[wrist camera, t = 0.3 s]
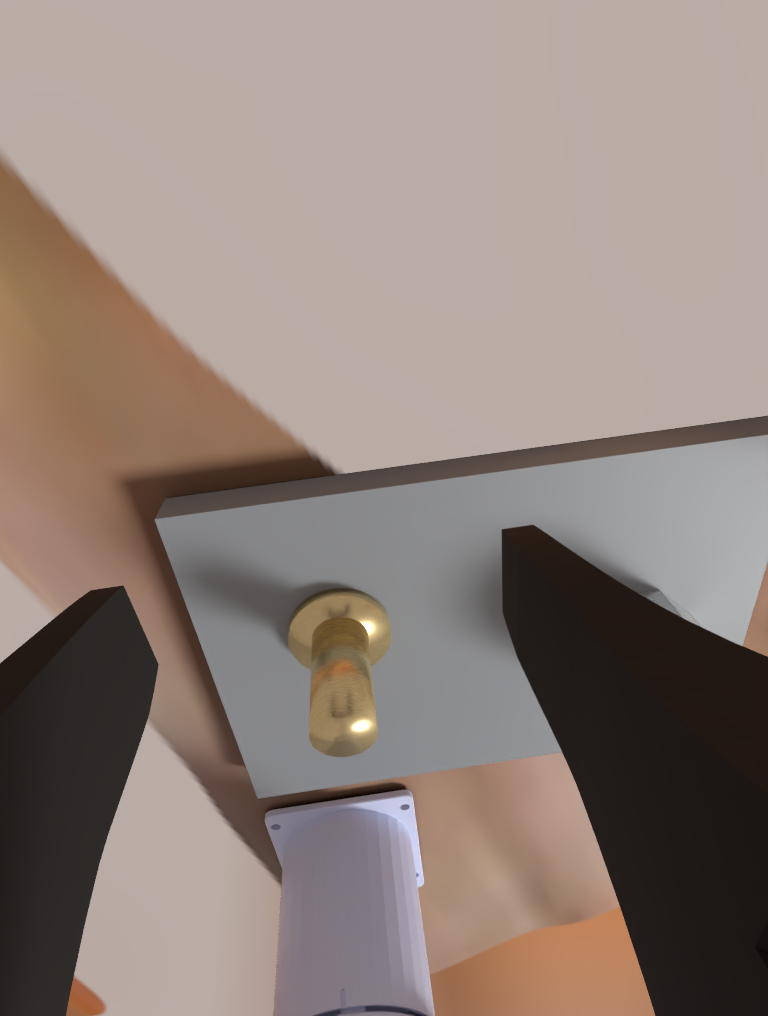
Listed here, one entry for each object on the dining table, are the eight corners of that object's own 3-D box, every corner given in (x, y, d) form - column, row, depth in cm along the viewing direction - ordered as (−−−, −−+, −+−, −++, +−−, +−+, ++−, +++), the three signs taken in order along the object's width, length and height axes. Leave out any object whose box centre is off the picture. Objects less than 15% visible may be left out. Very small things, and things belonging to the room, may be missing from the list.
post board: (699, 704, 29) (791, 828, 23) (260, 770, 28) (244, 915, 22) (777, 414, 21) (945, 496, 15) (165, 498, 20) (102, 616, 14)
